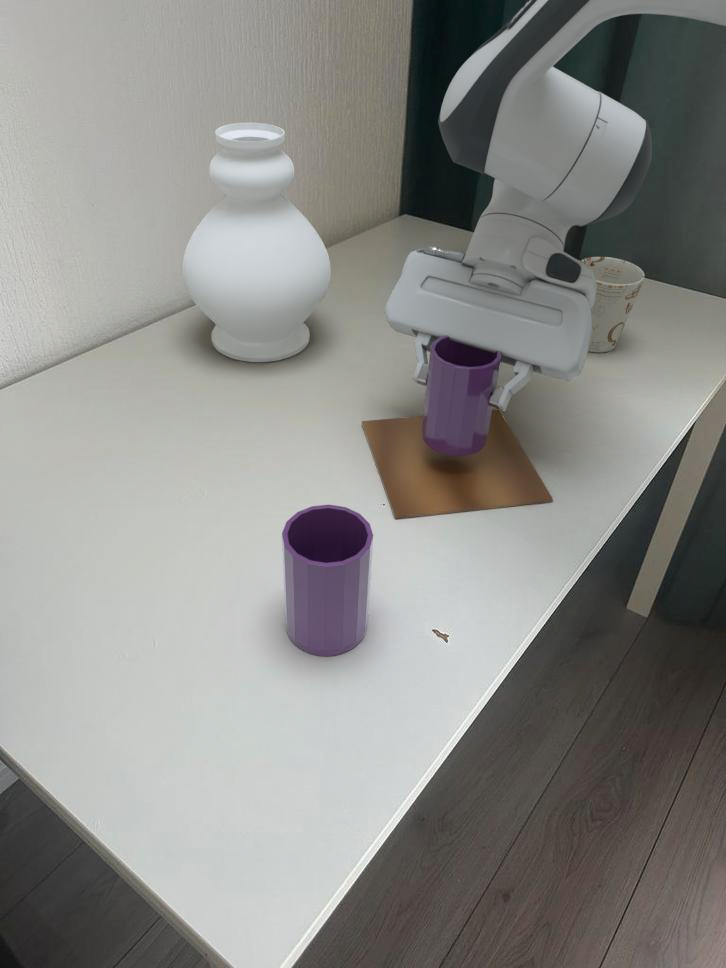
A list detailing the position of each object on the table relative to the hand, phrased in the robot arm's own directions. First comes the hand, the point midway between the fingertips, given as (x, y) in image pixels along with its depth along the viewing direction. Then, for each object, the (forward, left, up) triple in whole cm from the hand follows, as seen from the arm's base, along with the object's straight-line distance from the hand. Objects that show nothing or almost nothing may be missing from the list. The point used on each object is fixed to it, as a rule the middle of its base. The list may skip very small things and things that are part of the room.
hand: (458, 395), depth 75 cm
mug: (-25, -24, -9) cm, 36 cm away
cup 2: (0, 0, -5) cm, 5 cm away
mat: (0, 0, -8) cm, 8 cm away
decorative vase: (+17, -29, -9) cm, 35 cm away
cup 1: (+16, +19, -8) cm, 26 cm away
